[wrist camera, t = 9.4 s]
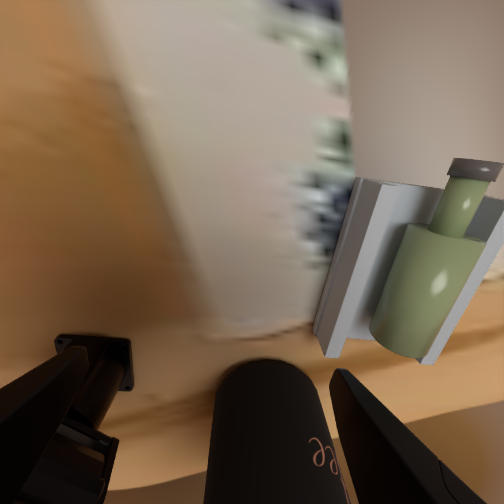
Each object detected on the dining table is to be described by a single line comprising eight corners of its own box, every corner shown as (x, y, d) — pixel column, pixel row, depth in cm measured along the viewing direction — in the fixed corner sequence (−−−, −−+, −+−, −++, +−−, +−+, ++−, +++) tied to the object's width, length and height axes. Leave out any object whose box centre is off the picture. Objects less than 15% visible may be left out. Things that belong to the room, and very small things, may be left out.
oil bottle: (391, 315, 23) (440, 350, 19) (357, 324, 21) (404, 364, 18) (458, 160, 18) (543, 168, 14) (419, 153, 16) (506, 161, 12)
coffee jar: (309, 421, 29) (397, 785, 13) (218, 424, 29) (185, 802, 12) (319, 352, 25) (472, 770, 8) (212, 355, 24) (149, 795, 8)
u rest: (411, 337, 24) (435, 365, 21) (312, 329, 23) (322, 356, 20) (482, 194, 19) (528, 204, 16) (356, 177, 18) (379, 184, 15)
